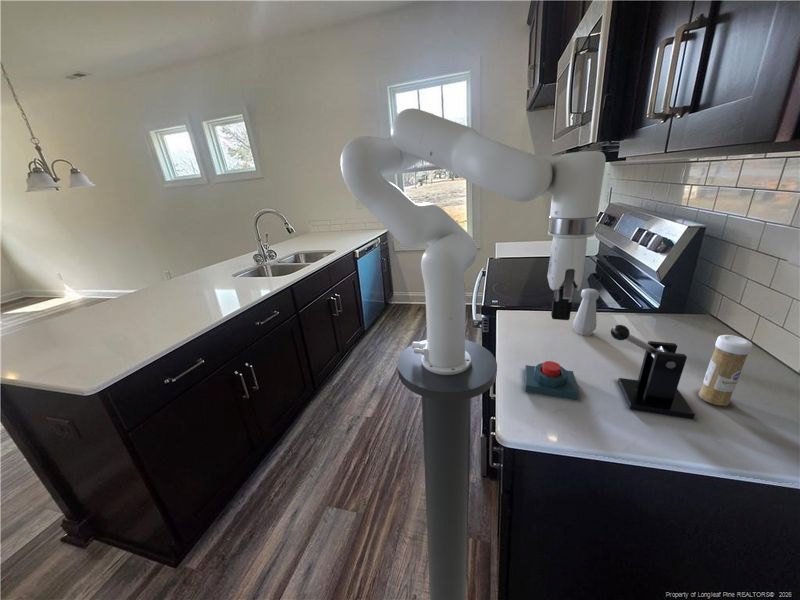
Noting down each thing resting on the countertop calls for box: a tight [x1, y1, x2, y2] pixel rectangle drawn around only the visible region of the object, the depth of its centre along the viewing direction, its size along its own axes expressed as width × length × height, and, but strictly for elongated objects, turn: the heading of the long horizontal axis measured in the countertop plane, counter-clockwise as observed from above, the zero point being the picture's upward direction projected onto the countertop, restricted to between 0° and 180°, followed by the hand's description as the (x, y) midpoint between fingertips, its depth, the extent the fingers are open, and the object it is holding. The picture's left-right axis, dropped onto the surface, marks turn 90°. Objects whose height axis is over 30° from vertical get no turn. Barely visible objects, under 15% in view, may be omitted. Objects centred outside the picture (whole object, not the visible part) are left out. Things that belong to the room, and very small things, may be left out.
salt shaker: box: [572, 287, 600, 336], centre depth 88 cm, size 6×6×13 cm
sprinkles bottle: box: [698, 334, 753, 407], centre depth 60 cm, size 5×5×13 cm
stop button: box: [542, 360, 562, 377], centre depth 69 cm, size 4×4×2 cm
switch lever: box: [610, 324, 673, 358], centre depth 61 cm, size 12×3×3 cm, turn 71°
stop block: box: [524, 362, 579, 400], centre depth 70 cm, size 10×8×4 cm
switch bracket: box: [617, 340, 696, 420], centre depth 62 cm, size 10×9×12 cm
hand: (560, 317), depth 64 cm, fingers closed
